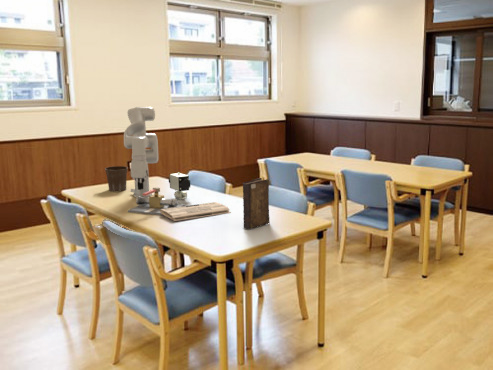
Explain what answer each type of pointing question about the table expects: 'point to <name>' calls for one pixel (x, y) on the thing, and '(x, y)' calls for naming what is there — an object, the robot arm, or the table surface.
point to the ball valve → (179, 184)
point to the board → (150, 209)
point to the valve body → (156, 201)
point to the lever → (152, 191)
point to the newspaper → (195, 211)
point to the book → (256, 203)
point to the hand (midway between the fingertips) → (140, 189)
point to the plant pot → (116, 177)
